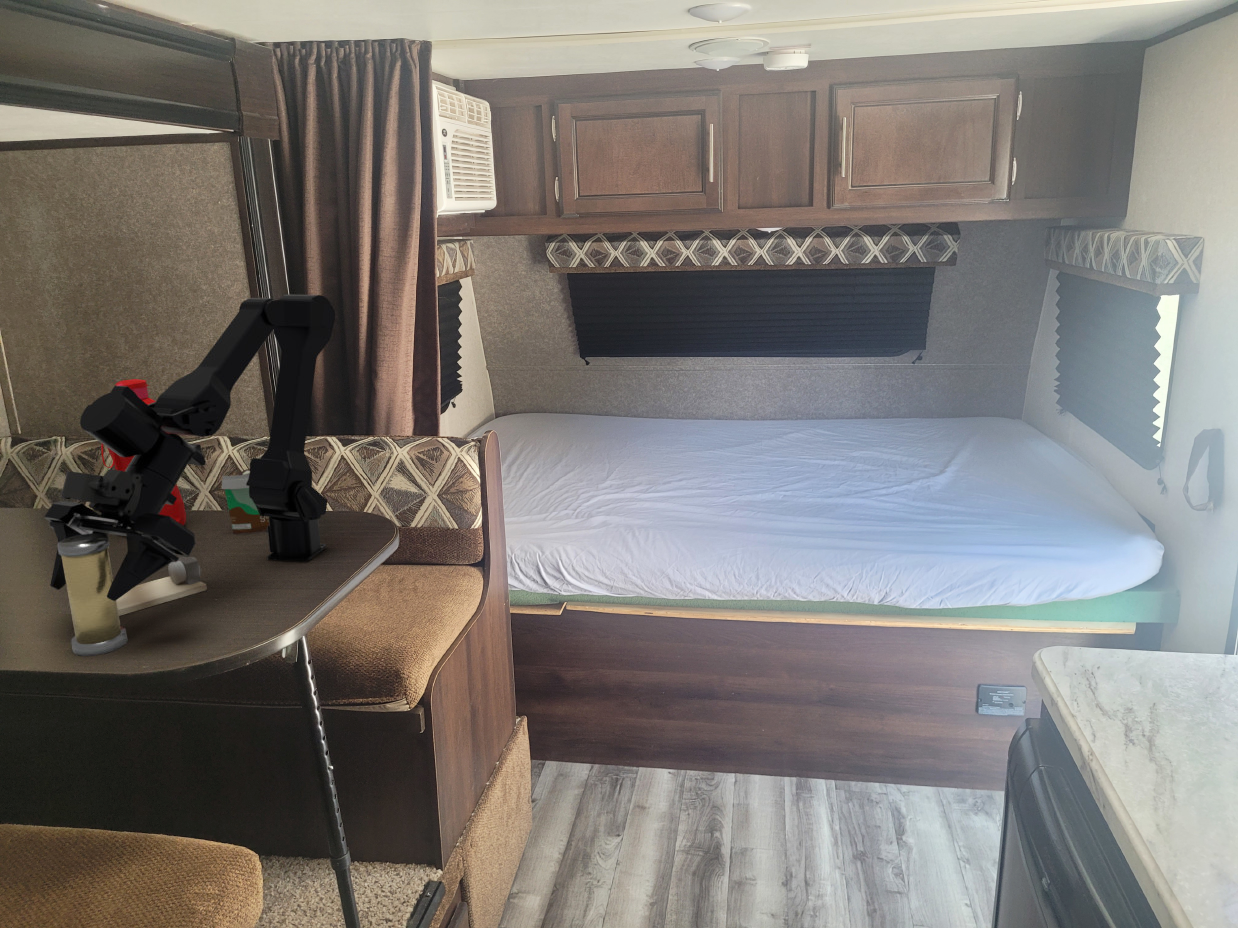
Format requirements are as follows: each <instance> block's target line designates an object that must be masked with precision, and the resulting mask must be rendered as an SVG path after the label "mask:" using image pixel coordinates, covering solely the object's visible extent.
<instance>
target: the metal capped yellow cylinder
mask: <svg viewBox="0 0 1238 928" xmlns="http://www.w3.org/2000/svg"><path fill="white" fill-rule="evenodd" d="M56 545H57V546H58V551H59V554H60V555H61V556H62V562H63V568H64V574H65V579H66V584H65V586H66V591H67V595H68V602H69V607H70V613H71V618H72V624H73V630H74V636H73V637H72V638H71V641H70V642H71V643H70V644H71V648H72V652H73V654H74V655H77V656H80V657H81V656H82V657H88V656H89V657H91V656H99V655H103V654H107V653H111V652H113V651H116V650H118V649H120V648H122V647H124V646H125V645H126V644H127V642H128V635H127V634H128V633H127V630H126V627H123V626H122V625H121V621H120V616H119V614H118V608H117V602H116V601H112V600H110V599H108V598H107V594H108V591H109V589H110V586H111V584H112V582H113V580H114V578H113V577H114V576H113V573H112V572H113V571H112V565H111V559H110V554H109V552H110V551H109V547H110V541H109V536H108V535H105V534H96V533H95V534H83V535H78V536H73V537H69V538H66V539H64V540H62V541H60V542H59V543H58V542H57V544H56Z"/></svg>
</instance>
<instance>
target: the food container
mask: <svg viewBox="0 0 1238 928" xmlns="http://www.w3.org/2000/svg"><path fill="white" fill-rule="evenodd" d="M249 474H250V468H247V469H244V470H241V472H239V473H238V474H236V475H222V480H221V490H224V493H225V498H226V504H227V508H228V514H229V519H230V524H231V528H232V532H233V533H232V535H233V534H235V535H236V534H239V535H240V534H252V533H253V534H254V533H259V532H264V531H267V527H268V526H269V517H267V516H264V517H263V516H260V514H259V512H258V510H257V507H256V505H255V504H254V502H253V500H252V499H251V498H250V496H249V486H247V485H246V483H247V481H248V479H249Z"/></svg>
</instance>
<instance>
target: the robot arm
mask: <svg viewBox="0 0 1238 928" xmlns="http://www.w3.org/2000/svg"><path fill="white" fill-rule="evenodd" d="M335 320H336V312H335V308H334V307H333V305H332V304H331V302H330V300H329V299H328V298H327V297H326V296H325V295H322V294H321V295H320V294H284V295H282V296H281V297H280V298H278V299H275V298H271V297H266V298H265V297H250V298H247V299H245V300H243V301H242V302H241V303H240V306H239V309H238V312H237V314H236V315H235V316H234V318H233V319H232V321H230V323H229V324H228V325H227V327H226V329H225V330H224V331H223V332H222V334H221V335H220V336H219V338H218V339H217V340H216V342H215V343H214V344H213V346H212V348H211V349H210V350H209V351H208V352H207V354H206V355H205V356H204V358H203V359H202V361H201V362H200V363H199V364H198V366H197V367H196V368H195V369H194V370H193V371H191V372H190V373H188V374H186V375H184V376H182V377H180V378H179V379H177V380H175V381H173V383H171V384H170V386H168V387H167V388H166V389H165V390H164V391H163V392H162V393H161V394H160V395H159V396H158V398H157V399H156V400H155V401H156V402H153V403H151V404H148V405H147V404H146V403H145V402H144V401H142V400H141V399H140V398H139V397H138V396H137V395H136V393H135V392H134V391H133V390H132V389H130V388H129V387H128V386H116V385H113V388H112V389H111V391H110V392H108V393H106V394H103V395H101V396H99V397H98V398H97V399H95V400H94V401H93V402H92V403H91V404H88V405H87V406H86V407H85V409H84V410H83V411H82V414H81V416H80V418H79V419H80V420H79V424H80V427H81V429H82V430H83V431H85V432H86V433H87V434H89V435H90V436H92V437H93V438H94V439H95V440H96V441H98V442H99V443H101V445H102V444H103V446H105V447H106V448H107V447H108V448H109V449H111V450H112V451H113V452H115V453H116V454H117V455H119V456H121V457H131V456H134V455H135V456H134V457H133V459H132V461H131V462H130V464H129V465H128V467H127V469H126V470H125V472H124V471H120V470H115V469H112V468H108V469H107V471H106V472H105V474H104V475H99V474H93V473H87V472H77V471H69V470H68V471H66V474H65V479H64V483H63V487H62V490H61V494H60V499H64V500H61V501H57V502H54V503H52V504H51V506H50V507H49V509H48V510H47V512H46V514H45V515H44V516H43V518H44V519H45V520H46V521H48V525H49V528H50V529H52V530H54V533H55V536H56V538H57V544H58V543H59V542H60V541H62V540H64V539H66V538H69V537H73V536H78V535H83V534H95V533H96V534H105V535H107V536H108V535H115V536H121V537H126V546H127V552H126V555H125V556H124V557H123V560H122V562H121V564H120V566H119V569H118V570H117V572H116V574H115V576H114V578H113V582H112V584H111V586H110V589H109V591H108V594H107V598H108V599H110V600H112V601H116V600H117V599H119V598H120V597H121V596H123V595H124V594H126V593H127V592H128V591H130V590H131V589H132V588H134V587H135V586H137V585H140V583H141V584H142V582H144V581H145V580H146V579H148V578H149V577H151V576H152V575H154V574H155V573H157V572H159V571H160V570H162V569H163V568H165V567H166V566H169V564H170V563H172V562H177V561H178V560H179V558H178V557H181V556H182V557H190V555H191V553H192V551H193V550H194V547H195V546H196V537H195V533H194V532H193V531H192V530H190V529H188V528H187V527H186V526H185V525H181V524H180V523H179V522H177V521H176V520H174V519H173V518H171V517H170V516H166V515H159V513H160V512H161V510H162V508H163V506H164V505H165V504H169V505H174V503H175V501H176V499H177V498H176V497H175V496H174V495H172V494H171V493H172V491H173V489H174V487H175V485H176V484H177V485H178V482H179V480H180V478H181V477H182V475H183V473H184V471H185V470H186V468H187V466H188V465H190V466H191V465H192V466H201V467H203V466H205V465H206V463H207V462H206V459H205V455H204V454H203V452H202V445H201V444H199V443H189V442H188V441H186V439H183V437H181V436H191V437H199V438H200V437H201V438H203V437H205V438H206V437H211V436H214V435H215V434H216V433H217V432H218V431H219V430H220V429H221V428H222V425H223V423H224V421H225V419H226V417H227V415H228V412H229V411H230V409H231V405H232V404H231V403H232V402H231V392H232V391H233V388H234V386H235V385H236V383H237V382H238V381H239V378H241V376H242V375H243V374H244V372H245V371H246V369H247V368H248V366H249V365H250V363H251V362H252V360H253V359H254V357H256V355H257V353H258V352H259V351H260V349H261V348H262V346H263V345H264V344H265V342H266V341H267V339H268V338H269V336H270V335H271V334H272V332H273V335H274V337H275V340H276V342H277V344H278V347H279V349H280V360H279V366H278V374H277V375H278V376H277V380H276V381H277V382H276V387H275V389H276V390H275V397H274V403H273V404H274V405H273V409H272V410H273V411H272V419H271V426H270V432H269V439H268V446H267V449H266V450H265V451H264V452H263V454H262V455H261V456H260V457H252V458H251V460H250V462H249V469H250V474H249V479H248V481H247V483H246V485H247V486H249V496H250V498H251V499H252V500H253V502H254V504H255V505H256V507H257V510H258V512H259V514H260V516H263V517H264V516H267V517H269V526H268V527H267V530H266V531H267V538H268V549H269V552H270V554H269V555H267V556H266V559H267V560H268V561H286V562H287V561H289V562H308V561H310V560H312V559H313V558H314V557H316V556H317V555H319V554H320V553H321V552H322V551H323V550H325V549H326V548H327V545H326V543H321V536H320V535H321V534H320V526H319V525H320V524H319V519H321V517H322V516H324V515H326V512H327V507H328V499H327V498H326V497H325V496H324V495H322V494H321V493H320V492H319V491H318V490H317V489H315V487H313V470H312V468H311V466H310V463H309V461H308V459H307V456H306V454H305V449H306V448H305V447H306V440H307V432H308V424H309V417H310V410H311V403H312V402H311V401H312V394H313V387H314V379H315V372H316V365H317V360H318V359H317V358H318V356H319V355H320V353H321V352H322V351H323V350H324V348H325V347H326V346H327V345H328V343H329V342H330V341H331V338H332V337H331V336H332V332H333V330H334V329H333V328H334V325H335V322H336V321H335ZM166 432H167V433H166ZM168 433H171V434H168ZM70 499H74V500H77V501H80V502H81V503H80V502H74V501H73V502H72V501H67V500H70ZM82 502H86V503H89V504H88V506H86V505H85V504H84V503H82ZM96 511H97V512H99V513H100V514H99V513H97V512H96ZM49 586H50V587H51V588H52V589H54V590H57V591H60V590H61V589H62V588H63V587H64V586H66V579H65V574H64V568H63V562H62V556H61V555H60V554H59V551H58V546H57V549H56V555H55V560H54V565H53V570H52V574H51V580H50V585H49Z"/></svg>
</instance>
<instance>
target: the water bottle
mask: <svg viewBox="0 0 1238 928" xmlns="http://www.w3.org/2000/svg"><path fill="white" fill-rule="evenodd" d="M114 386H128V387H129V388H130V389H132V390H133V391H134V392H135V393H136V395H137V396H138V397H139V398H140V399H141V400H142V401H144V402H145V403H146V404H147V405H148V404H151V403H153V402H156V401H157V400H154V399H152V398H150V397H149V391H148V390H149V389H148V387H149V386H150V384H147V380H144V379H138V378H133V379H125V380H120V381H118V382H116V383H115V385H114ZM166 433H167V432H166ZM168 434H171V433H168ZM106 448H107V451H108V454H109V455H110V458H111V460H112V464H111V465H110V466H107V463H106V461H105V457H104V444H102V443H101V448H100V449H101V450H100V451H101V459H102V460H101V461H102V464H103V465H104V467H105V468H108V469H112V468H113V467H114V470H120V471H124V472H125V470H126V469H127V467H128V465H129V464H130V462H131V461H132V459H133V457H134V456H135V455H134V456H131V457H121V456H119V455H117V454H116V453H115V452H113V451H112V450H111V449H109V448H108V447H106ZM171 494H172V495H174V496H175V497H176V498H177V499H176V501H175V503H174V505H169V504H165V505H164V506H163V508H162V510H161V512H160V513H159V515H166V516H170V517H171V518H173V519H174V520H176V521H177V522H179V523H180V524H181V525H183V526H185V524H186V523H187V522H186V520H187V514H186V513H187V512H186V508H185V503H184V499H183V496H182V495H181V492H180V489H179V486H178V483H177V484H176V485H175V487H174V489H173V491H172V493H171Z"/></svg>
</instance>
